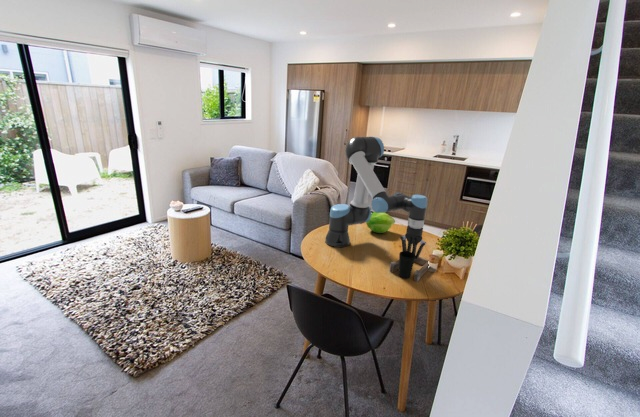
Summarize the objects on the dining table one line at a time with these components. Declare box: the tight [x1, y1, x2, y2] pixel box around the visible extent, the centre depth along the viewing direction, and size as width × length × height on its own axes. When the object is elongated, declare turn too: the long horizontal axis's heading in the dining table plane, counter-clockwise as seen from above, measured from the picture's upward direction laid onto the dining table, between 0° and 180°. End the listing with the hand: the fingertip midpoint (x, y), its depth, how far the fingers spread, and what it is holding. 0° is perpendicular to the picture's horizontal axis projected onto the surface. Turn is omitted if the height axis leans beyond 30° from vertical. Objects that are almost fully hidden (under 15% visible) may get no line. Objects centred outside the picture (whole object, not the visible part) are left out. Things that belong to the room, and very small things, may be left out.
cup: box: [398, 250, 416, 280], centre depth 155 cm, size 8×8×12 cm
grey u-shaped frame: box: [389, 256, 430, 283], centre depth 163 cm, size 15×20×5 cm
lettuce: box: [365, 211, 396, 234], centre depth 210 cm, size 15×20×14 cm
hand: (408, 268), depth 160 cm, fingers closed
